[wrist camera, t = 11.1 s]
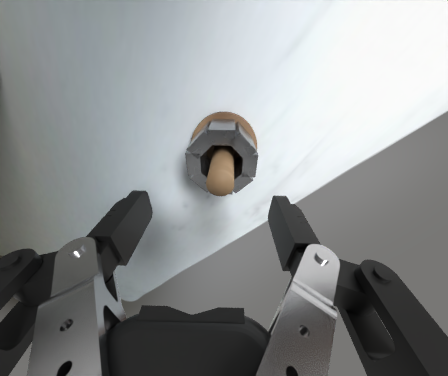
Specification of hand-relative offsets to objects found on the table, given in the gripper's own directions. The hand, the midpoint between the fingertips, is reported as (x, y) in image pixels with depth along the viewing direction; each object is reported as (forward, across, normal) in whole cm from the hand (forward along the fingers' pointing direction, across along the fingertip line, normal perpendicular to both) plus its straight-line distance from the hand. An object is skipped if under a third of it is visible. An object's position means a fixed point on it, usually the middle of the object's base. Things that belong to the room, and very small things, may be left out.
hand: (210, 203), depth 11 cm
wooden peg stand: (+9, -1, -1) cm, 9 cm away
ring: (+8, -1, -1) cm, 8 cm away
